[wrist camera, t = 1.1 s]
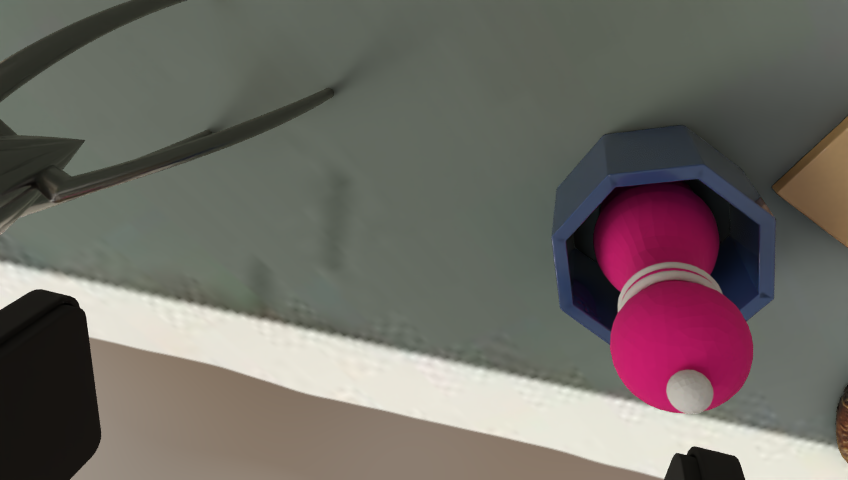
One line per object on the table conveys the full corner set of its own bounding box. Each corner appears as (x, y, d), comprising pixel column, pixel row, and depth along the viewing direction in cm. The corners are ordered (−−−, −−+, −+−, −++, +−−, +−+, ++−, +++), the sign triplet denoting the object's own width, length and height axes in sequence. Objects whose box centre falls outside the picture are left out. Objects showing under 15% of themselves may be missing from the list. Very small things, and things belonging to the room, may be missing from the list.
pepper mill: (709, 159, 41) (806, 330, 23) (702, 261, 43) (783, 482, 26) (591, 163, 42) (597, 325, 25) (592, 261, 45) (598, 468, 28)
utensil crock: (640, 91, 40) (652, 125, 33) (784, 200, 41) (826, 256, 34) (525, 224, 45) (514, 277, 38) (654, 318, 46) (667, 387, 39)
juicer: (336, 95, 44) (-30, 329, 18) (207, 139, 48) (-255, 387, 22) (278, -50, 41) (-275, -28, 15) (145, 9, 45) (-489, 113, 18)
